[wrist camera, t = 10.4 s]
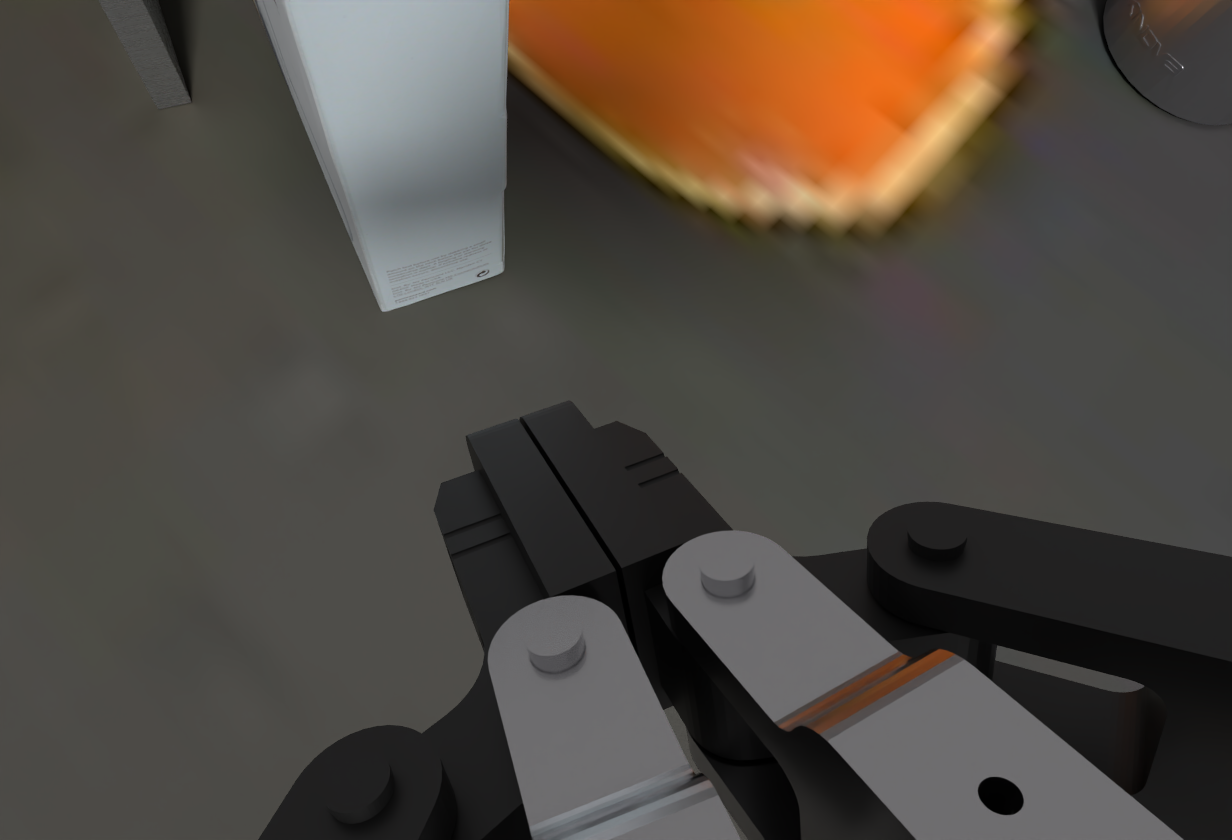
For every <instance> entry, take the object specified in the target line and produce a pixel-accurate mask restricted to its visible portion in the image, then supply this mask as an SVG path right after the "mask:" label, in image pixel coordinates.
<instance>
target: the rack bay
mask: <svg viewBox="0 0 1232 840" xmlns="http://www.w3.org/2000/svg"><path fill="white" fill-rule="evenodd" d="M99 2H100V4H101V6H102V8H103V10H104V11H105V13H106V15H107V17H108V19H109V21H110V22H111V24H112V26H113V28H114V30H115V31H116V33H117V35H118V37H119V39H120V41H121V42H122V44H123V46H124V48H125V50H126V52H127V53H128V55H129V57H130V59H131V61H132V63H133V64H134V66H135V68H136V70H137V72H138V74H139V75H140V77H141V79H142V81H143V83H144V84H145V86H146V88H147V90H148V92H149V94H150V95H151V97H152V99H153V101H154V103H155V105H156V106H157V108H158V109H162V108H167V107H172V106H177V105H181V104H186V103H191V99H190V96H189V93H188V90H187V87H186V84H185V81H184V78H183V75H182V72H181V69H180V66H179V63H178V60H177V57H176V53H175V50H174V47H173V44H172V41H171V38H170V35H169V32H168V29H167V26H166V23H165V20H164V17H163V14H162V11H161V8H160V5H159V2H158V0H99Z"/></svg>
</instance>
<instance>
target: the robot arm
mask: <svg viewBox="0 0 1232 840" xmlns="http://www.w3.org/2000/svg"><path fill="white" fill-rule="evenodd" d="M1103 22H1104V34H1105V37H1106V40H1107V44H1108V47H1109V50H1110V52H1111V54H1112V56H1113V58H1114V60H1115V62H1116V64H1117V66H1118V67H1119V68H1120V70H1121V71H1122V72H1123V74H1124V75H1125V76H1126V78H1127V79H1128V81H1129V82H1130V83H1131V84H1132V85H1133V86H1134V87H1135V88H1136V89H1137V90H1138V91H1139V92H1140V93H1141V94H1142V95H1143V96H1145V97H1146V98H1147V99H1149V100H1150V101H1151V102H1153V103H1154V104H1156V105H1157V106H1158V107H1160V108H1161V109H1163V110H1165V111H1167V112H1169V113H1171V114H1173V115H1175V116H1177V117H1179V118H1182V119H1185V120H1188V121H1191V122H1194V123H1199V124H1206V125H1227V124H1232V0H1107V2H1106V5H1105V10H1104V15H1103ZM466 441H467V445H468V449H469V453H470V456H471V459H472V463H473V466H474V470H475V471H474V472H471V473H469V474H466V475H463V476H460V477H457V478H454V479H452V480H449V481H446V482H443V483H441V486H440V489H439V493H438V496H437V500H436V504H435V507H434V512H435V515H436V518H437V521H438V524H439V527H440V530H441V532H442V535H443V538H444V541H445V544H446V547H447V550H448V553H449V556H450V559H451V562H452V565H453V568H454V571H455V574H456V577H457V580H458V583H459V585H460V588H461V591H462V594H463V597H464V600H465V602H466V605H467V608H468V610H469V613H470V616H471V618H472V621H473V623H474V626H475V629H476V632H477V634H478V637H479V640H480V642H481V645H482V648H483V650H484V661H483V665H482V668H481V671H480V674H479V676H478V678H477V680H476V682H475V684H474V686H473V687H472V688H471V690H470V691H469V693H468V694H467V695H466V697H465V698H464V699H463V700H462V701H461V702H460V703H459V704H458V705H457V706H456V707H455V708H454V709H453V710H451V711H450V712H449V713H448V714H447V715H446V716H444V717H443V718H442V719H440V720H439V721H438V722H436V723H435V724H434V725H432V726H431V727H430V728H429V729H427V730H426V731H425V732H423V733H422V734H421V733H420V732H418V731H415V730H413V729H411V728H407V727H403V726H394V725H385V726H376V727H371V728H367V729H363V730H360V731H358V732H355V733H352V734H350V735H348V736H346V737H344V738H342V739H340V740H338V741H337V742H335V743H334V744H332V745H331V746H329V747H328V748H326V749H325V750H324V751H323V752H322V753H320V754H319V755H318V756H317V757H316V758H315V759H314V760H313V761H312V762H311V763H310V764H309V765H308V766H307V767H306V768H305V769H304V770H303V772H302V773H301V775H300V776H299V777H298V779H297V780H296V781H295V783H294V785H293V786H292V788H291V789H290V791H289V792H288V794H287V796H286V797H285V799H284V800H283V802H282V803H281V805H280V806H279V808H278V810H277V811H276V813H275V814H274V816H273V817H272V819H271V821H270V822H269V824H268V825H267V827H266V828H265V830H264V832H263V833H262V835H261V836H260V838H259V839H258V840H740V838H739V836H738V834H737V831H736V829H735V827H734V825H733V823H732V821H731V819H730V817H729V815H728V813H727V811H726V809H727V810H728V812H729V813H730V815H731V816H732V817H733V819H734V820H735V822H736V823H737V824H738V826H739V827H740V829H741V830H742V832H743V833H744V834H745V836H746V837H747V839H748V840H1232V557H1229V556H1224V555H1218V554H1213V553H1208V552H1203V551H1197V550H1192V549H1187V548H1181V547H1176V546H1171V545H1165V544H1160V543H1155V542H1149V541H1144V540H1139V539H1134V538H1128V537H1123V536H1118V535H1112V534H1107V533H1102V532H1096V531H1091V530H1086V529H1081V528H1075V527H1070V526H1065V525H1059V524H1054V523H1049V522H1043V521H1038V520H1033V519H1027V518H1022V517H1017V516H1012V515H1006V514H1001V513H996V512H990V511H985V510H980V509H974V508H969V507H964V506H958V505H953V504H947V503H940V502H917V503H910V504H905V505H902V506H898V507H895V508H893V509H891V510H889V511H887V512H885V513H884V514H882V515H881V516H879V517H878V518H877V519H876V520H875V521H874V522H873V524H872V526H871V527H870V529H869V532H868V536H867V549H860V550H853V551H846V552H839V553H833V554H826V555H819V556H808V557H794V556H791V555H789V554H788V553H787V552H786V551H785V550H784V549H783V548H782V547H780V546H779V545H778V544H776V543H775V542H773V541H772V540H770V539H768V538H766V537H763V536H760V535H758V534H754V533H750V532H745V531H733V529H732V528H731V527H730V526H729V525H728V524H727V523H726V522H725V521H724V520H723V518H722V517H721V516H720V515H719V514H718V513H717V512H716V511H715V510H714V508H713V507H712V506H711V505H710V504H709V503H708V502H707V501H706V500H705V498H704V497H703V496H702V495H701V494H700V493H699V492H698V491H697V490H696V488H695V487H694V486H693V485H692V484H691V483H690V482H689V481H688V480H687V478H686V477H685V476H684V475H683V474H682V473H679V471H678V468H677V467H676V466H675V465H674V464H673V463H672V462H671V461H670V460H669V459H668V457H665V456H664V453H663V452H662V451H661V450H660V449H659V447H658V446H657V445H656V444H655V443H654V442H653V441H652V440H651V439H650V437H649V436H648V435H647V434H646V433H644V432H642V431H639V430H637V429H634V428H632V427H630V426H627V425H625V424H623V423H620V422H618V421H615V422H613V423H610V424H607V425H604V426H601V427H598V428H596V429H594V428H593V427H592V426H591V425H590V423H589V422H588V421H587V420H586V418H585V417H584V416H583V415H582V413H581V412H580V411H579V410H578V408H577V407H576V406H575V405H574V403H573V402H571V401H566V402H563V403H560V404H557V405H554V406H551V407H548V408H545V409H542V410H539V411H536V412H534V413H531V414H528V415H525V416H522V417H520V419H519V420H518V419H514V420H511V421H508V422H505V423H502V424H499V425H496V426H493V427H490V428H487V429H484V430H481V431H478V432H475V433H472V434H469V435H467V436H466ZM997 645H999V646H1003V647H1006V648H1010V649H1014V650H1018V651H1022V652H1026V653H1030V654H1033V655H1037V656H1041V657H1045V658H1049V659H1053V660H1056V661H1060V662H1064V663H1068V664H1072V665H1076V666H1080V667H1083V668H1087V669H1091V670H1095V671H1099V672H1103V673H1106V674H1110V675H1114V676H1118V677H1122V678H1126V679H1129V680H1132V681H1135V682H1138V683H1140V684H1142V685H1144V686H1145V687H1143V688H1142V689H1139V690H1137V691H1133V692H1126V693H1119V692H1111V691H1107V690H1103V689H1099V688H1095V687H1092V686H1088V685H1084V684H1081V683H1077V682H1073V681H1069V680H1066V679H1062V678H1058V677H1055V676H1051V675H1047V674H1043V673H1040V672H1036V671H1032V670H1028V669H1025V668H1021V667H1017V666H1014V665H1010V664H1006V663H1002V662H999V661H995V657H996V650H997ZM671 706H674V707H675V709H676V711H677V712H678V714H679V716H680V717H681V719H682V721H683V722H684V724H685V726H686V730H687V736H688V742H689V748H690V753H691V756H692V759H693V761H694V762H695V764H696V766H697V768H698V769H699V770H700V772H701V773H699V774H695V773H694V772H693V770H692V769H691V767H690V765H689V763H688V761H687V759H686V757H685V755H684V753H683V751H682V749H681V747H680V745H679V743H678V741H677V738H676V736H675V734H674V732H673V730H672V728H671V726H670V724H669V722H668V719H667V717H666V715H665V713H664V711H663V710H664V709H666V708H669V707H671ZM724 806H725V807H726V809H725V807H724Z"/></svg>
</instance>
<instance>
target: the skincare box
mask: <svg viewBox="0 0 1232 840" xmlns="http://www.w3.org/2000/svg"><path fill="white" fill-rule="evenodd" d="M253 2H254V4H255V7H256V9H257V12H258V14H259V17H260V19H261V22H262V24H263V27H264V29H265V32H266V34H267V37H268V39H269V42H270V44H271V46H272V49H273V51H274V54H275V56H276V59H277V61H278V64H279V66H280V69H281V71H282V74H283V76H284V79H285V81H286V84H287V86H288V88H289V91H290V93H291V96H292V98H293V101H294V103H295V105H296V108H297V110H298V113H299V115H300V118H301V120H302V122H303V125H304V127H305V130H306V132H307V134H308V137H309V139H310V142H311V144H312V147H313V149H314V152H315V154H316V156H317V159H318V161H319V164H320V166H321V169H322V171H323V174H324V176H325V178H326V181H327V183H328V186H329V188H330V191H331V193H332V195H333V198H334V200H335V203H336V205H337V208H338V210H339V212H340V215H341V217H342V220H343V222H344V225H345V227H346V229H347V232H348V234H349V236H350V239H351V241H352V243H353V246H354V248H355V250H356V253H357V255H358V257H359V260H360V262H361V264H362V267H363V269H364V271H365V274H366V276H367V278H368V281H369V283H370V285H371V288H372V290H373V293H374V295H375V298H376V300H377V302H378V305H379V307H380V309H381V311H390V310H393V309H396V308H399V307H402V306H406V305H409V304H412V303H415V302H418V301H421V300H424V299H427V298H430V297H432V296H435V295H438V294H441V293H444V292H447V291H450V290H453V289H456V288H460V287H463V286H466V285H469V284H472V283H475V282H478V281H481V280H484V279H487V278H490V277H493V276H495V275H498V274H500V273H502V272H503V271H504V253H505V234H504V190H505V188H506V185H507V111H506V89H507V61H508V21H509V0H253Z"/></svg>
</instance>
